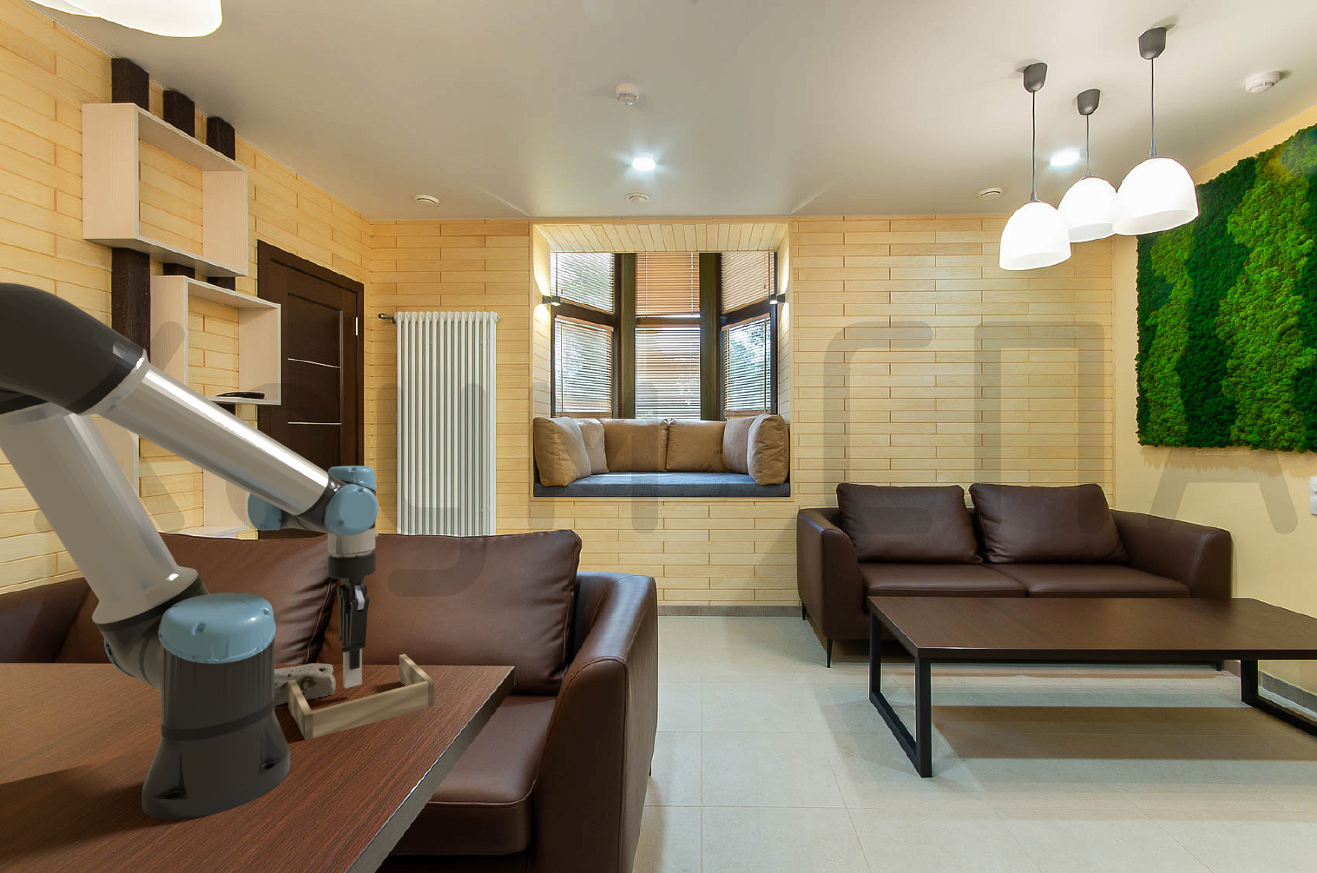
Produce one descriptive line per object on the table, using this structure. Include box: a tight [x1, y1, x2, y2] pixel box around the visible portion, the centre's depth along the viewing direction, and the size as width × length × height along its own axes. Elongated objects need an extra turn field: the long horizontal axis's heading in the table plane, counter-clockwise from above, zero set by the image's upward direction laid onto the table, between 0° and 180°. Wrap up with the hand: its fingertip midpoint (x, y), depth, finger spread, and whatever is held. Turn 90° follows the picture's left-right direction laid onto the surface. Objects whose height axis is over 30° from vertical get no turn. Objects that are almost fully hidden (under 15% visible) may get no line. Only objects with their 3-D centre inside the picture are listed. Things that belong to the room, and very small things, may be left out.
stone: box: [274, 662, 337, 708], centre depth 104 cm, size 13×6×10 cm
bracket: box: [287, 653, 435, 741], centre depth 99 cm, size 16×19×5 cm
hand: (352, 684), depth 104 cm, fingers closed
